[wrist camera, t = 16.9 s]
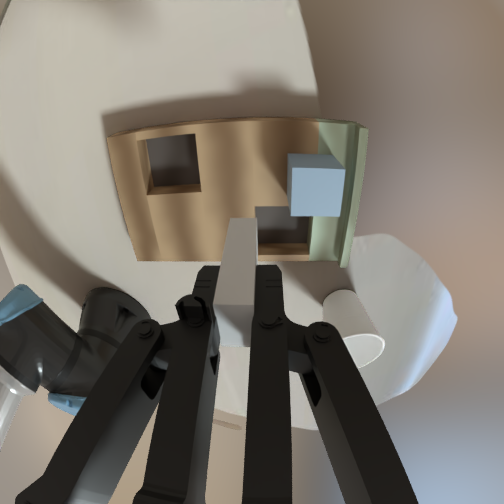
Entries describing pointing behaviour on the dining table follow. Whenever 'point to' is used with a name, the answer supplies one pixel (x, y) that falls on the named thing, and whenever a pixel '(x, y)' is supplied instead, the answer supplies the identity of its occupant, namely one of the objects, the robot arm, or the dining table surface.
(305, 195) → the block
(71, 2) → the dining table surface
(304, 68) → the dining table surface
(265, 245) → the board
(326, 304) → the cup
